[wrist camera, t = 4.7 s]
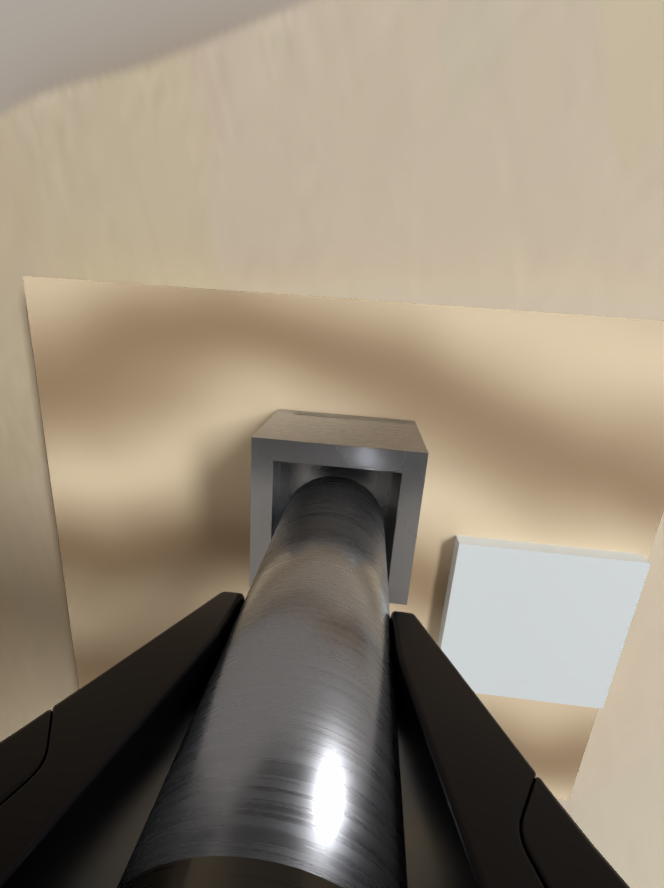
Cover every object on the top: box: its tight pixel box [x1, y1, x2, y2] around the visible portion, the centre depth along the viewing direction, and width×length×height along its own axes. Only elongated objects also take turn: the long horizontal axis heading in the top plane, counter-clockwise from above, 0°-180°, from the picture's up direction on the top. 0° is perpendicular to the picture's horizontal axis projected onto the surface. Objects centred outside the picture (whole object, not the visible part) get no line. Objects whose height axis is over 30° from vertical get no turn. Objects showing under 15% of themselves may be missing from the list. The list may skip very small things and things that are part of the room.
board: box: [23, 276, 664, 800], centre depth 17 cm, size 20×22×2 cm
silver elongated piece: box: [249, 409, 429, 605], centre depth 14 cm, size 16×7×6 cm, turn 176°
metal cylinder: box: [117, 476, 408, 888], centre depth 7 cm, size 3×3×10 cm
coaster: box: [437, 535, 651, 709], centre depth 16 cm, size 6×6×1 cm
